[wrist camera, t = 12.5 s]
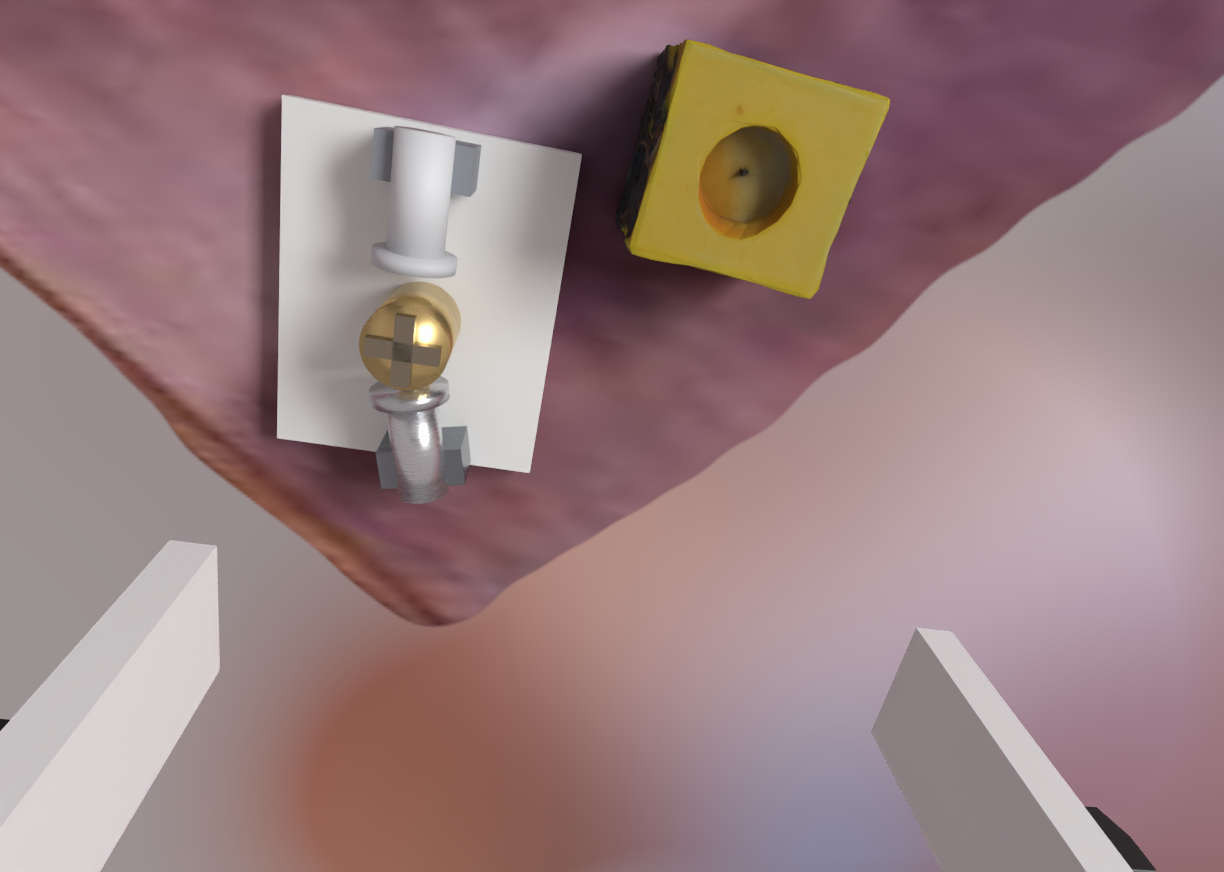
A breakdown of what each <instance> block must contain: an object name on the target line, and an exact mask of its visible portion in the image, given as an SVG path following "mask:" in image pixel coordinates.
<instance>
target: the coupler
mask: <svg viewBox="0 0 1224 872" xmlns="http://www.w3.org/2000/svg"><path fill="white" fill-rule="evenodd" d="M460 328H461V316H460V312H459V309H458V306H457V304H456V302H455V301H454V300H453V298H452V297H451V296H450V295H449V294H448V293H447V292H446V291H445V290H443V289H442V288H441V287H439V286H437V285H434V284H432V283H428V282H421V281H416V282H409V283H406V284H403V285H401V286H399V287H398V288H396V289H395V290H394V291H393V292H392V293H391V294H390V295H389V296H388V297H387V299H386V300H385V301H384V302H383V303H382V304H381V306H380V307H379V308H378V309H377V310H376V311H375V312H374V314H373V315H372V316H371V317H370V318H369V319H368V320H367V322H366V323H365V325H364V326H363V328H362V331H361V334H360V338H359V351H360V355H361V359H362V361H363V363H364V365H365V367H366V369H367V370H368V371H369V372H370V374H371V375H372V376H373V377H374V378H376V379H377V380H378V381H379V382H381V383H383V384H384V385H386V386H389V387H391V388H394V389H399V390H417V389H421V388H424V387H426V386H428V385H430V384H432V383H433V382H434V381H436V380H437V379H438V378H439V377H440V376H441V374H442V373H443V371H444V369H445V367H446V365H447V363H448V360H449V358H450V355H451V353H452V350H453V348H454V345H455V343H456V340H457V338H458V335H459V332H460Z"/></svg>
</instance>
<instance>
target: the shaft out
mask: <svg viewBox="0 0 1224 872" xmlns="http://www.w3.org/2000/svg"><path fill="white" fill-rule="evenodd" d="M369 394H370V400H371V405H372V407H373V408H374V409H376V410H378V411H380V412H384V413H386V418H387V425H388V430H387V432H386V434H385V436H384V438H383V440H382V442H381V443H380V445H379V447H378V449H377V451H376V459H377V465H378V471H379V477H380V483H381V489H393V488H397V489H398V495H399V498H400V499H401V500H403V501H405V502H408V503H427V502H432V501H435V500H438V499H440V498H442V497H443V496H445V495H446V494H447V493H448V491H449V486H453V485H465V482H466V478H467V474H468V470H469V465H470V461H471V457H470V448H469V439H468V429H467V426H457V427H441V419H440V411H439V406H441V405H442V404H444V403H446V402H447V401H448V400H449V398H450V391H449V383H448V380H447V379H446V378H444V377H442V376H440V377H439V378H438V379H437V380H436V381H434V382H433V383H432V384H430V385H428V386H426V387H424V388H421V389H417V390H399V389H394V388H391V387H389V386H386V385H384V384H383V383H381V382H377V383H375V384H373V385H372V386H371V387H370V389H369Z"/></svg>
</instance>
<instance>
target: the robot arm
mask: <svg viewBox="0 0 1224 872" xmlns="http://www.w3.org/2000/svg"><path fill="white" fill-rule="evenodd" d="M218 625H219V622H218V576H217V546H215V545H206V544H196V543H189V542H180V541H171V540H170V541H169V542H168V543H167V544H166V545H165V546H164V547H163V548H162V550H161V551H160V552H159V553H158V554H157V555H156V556H155V557H154V559H153V560H152V561H151V562H150V563H149V564H148V565H147V566H146V568H145V569H144V570H143V571H142V572H141V573H140V574H139V575H138V577H137V578H136V579H135V580H134V581H133V582H132V583H131V585H130V586H129V587H128V588H127V589H126V590H125V591H124V592H123V594H122V595H121V596H120V597H119V598H118V599H117V600H116V601H115V603H114V604H113V605H112V606H111V607H110V608H109V609H108V610H107V612H106V613H105V614H104V615H103V616H102V617H101V619H99V621H98V622H97V623H96V624H95V625H94V626H93V627H92V629H91V630H90V631H89V632H88V633H87V634H86V635H85V637H84V638H83V639H82V640H81V641H80V642H79V643H78V644H77V645H76V647H75V648H74V649H73V650H72V651H71V652H70V653H69V654H68V656H67V657H66V658H65V659H64V660H63V661H62V662H61V663H60V665H59V666H58V667H57V668H56V669H55V670H54V671H53V673H52V674H51V675H50V676H49V677H48V678H47V679H46V680H45V682H44V683H43V684H42V685H41V686H40V687H39V688H38V690H37V691H36V692H35V693H34V694H33V695H32V696H31V697H30V698H29V700H28V701H27V702H26V703H25V704H24V705H23V706H22V707H21V709H20V710H19V711H18V712H17V713H16V714H15V715H14V716H13V718H12V719H11V720H6V719H0V872H100V871H101V869H102V867H103V866H104V864H105V862H106V861H107V859H108V857H109V855H110V854H111V852H112V850H113V849H114V847H115V845H116V843H117V842H118V840H119V838H120V837H121V835H122V834H123V832H124V830H125V828H126V827H127V825H128V823H129V822H130V820H131V818H132V817H133V815H134V813H135V812H136V810H137V808H138V807H139V805H140V803H141V801H142V800H143V798H144V797H145V795H146V793H147V791H148V790H149V788H150V786H151V785H152V783H153V781H154V780H155V778H156V776H157V775H158V773H159V771H160V770H161V768H162V766H163V764H164V763H165V761H166V759H167V758H168V756H169V754H170V753H171V751H172V749H173V747H174V746H175V744H176V743H177V741H178V739H179V738H180V736H181V734H182V733H183V731H184V729H185V727H186V726H187V724H188V722H189V721H190V719H191V717H192V716H193V714H194V712H195V711H196V709H197V707H198V706H199V704H200V702H201V700H202V699H203V697H204V696H205V694H206V692H207V690H208V689H209V687H210V685H211V684H212V682H213V680H214V679H215V677H216V675H217V674H218V672H219V669H220V668H219V626H218ZM871 732H872V734H873V736H874V738H875V740H876V742H877V744H878V746H879V748H880V750H881V752H882V754H883V756H884V758H885V760H886V761H887V764H888V766H889V768H890V770H891V772H892V774H893V776H894V778H895V779H896V781H897V784H898V786H899V787H900V790H901V791H902V793H903V795H904V797H905V799H906V801H907V803H908V805H909V807H910V809H911V811H912V813H913V815H914V817H915V819H916V821H917V823H918V825H919V826H920V829H921V831H922V833H923V835H924V837H925V839H926V840H927V843H928V845H929V846H930V849H931V851H932V853H933V855H934V856H935V858H936V860H937V862H938V864H939V866H940V868H941V870H942V872H1155V871H1156V869H1155V868H1154V866H1153V865H1152V864H1151V863H1150V861H1149V860H1148V859H1147V858H1146V856H1145V855H1144V854H1143V853H1142V851H1141V850H1140V849H1139V847H1138V846H1137V845H1136V844H1135V842H1134V841H1133V840H1132V839H1131V837H1130V836H1129V835H1128V834H1126V833H1125V832H1124V831H1123V830H1122V829H1121V828H1119V827H1118V826H1117V825H1116V824H1115V823H1114V822H1113V821H1112V820H1110V819H1109V818H1108V817H1107V816H1106V815H1104V814H1103V813H1102V812H1101V811H1100V810H1099V809H1098V808H1097V807H1085V806H1083V804H1082V803H1081V802H1080V800H1079V799H1078V798H1077V796H1076V795H1075V794H1074V793H1073V791H1072V790H1071V788H1070V787H1069V786H1068V784H1067V783H1066V782H1065V781H1064V779H1063V778H1062V776H1061V775H1060V774H1059V773H1058V771H1057V770H1056V769H1055V767H1054V766H1053V765H1052V763H1051V762H1050V761H1049V759H1048V758H1047V757H1046V755H1045V754H1044V753H1043V752H1042V750H1041V749H1040V748H1039V746H1038V745H1037V744H1036V742H1035V741H1034V740H1033V738H1032V737H1031V736H1030V734H1029V733H1028V732H1027V730H1026V729H1025V728H1024V727H1023V725H1022V724H1021V722H1020V721H1019V720H1018V718H1017V717H1016V716H1015V714H1014V713H1013V712H1012V711H1011V709H1010V708H1009V707H1008V705H1007V704H1006V703H1005V701H1004V700H1003V699H1002V697H1001V696H1000V695H999V693H998V692H997V691H996V689H995V688H994V687H993V685H992V684H991V683H990V682H989V680H988V679H987V678H986V676H985V675H984V674H983V672H982V671H981V670H980V668H979V667H978V666H977V664H976V663H975V662H974V660H973V659H972V658H971V656H970V655H969V654H968V653H967V651H966V650H965V649H964V648H963V646H962V645H961V643H960V642H959V641H958V639H957V638H956V637H955V635H954V634H953V633H952V632H950V631H941V630H932V629H924V628H916V630H915V632H914V634H913V637H912V639H911V641H910V643H909V646H908V648H907V650H906V653H905V655H904V657H903V660H902V662H901V664H900V666H899V669H898V671H897V674H896V676H895V678H894V680H893V683H892V685H891V687H890V690H889V692H888V694H887V697H886V699H885V701H884V703H883V706H882V708H881V710H880V713H879V715H878V717H877V719H876V722H875V724H874V726H873V729H872V731H871Z"/></svg>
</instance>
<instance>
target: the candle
mask: <svg viewBox="0 0 1224 872" xmlns="http://www.w3.org/2000/svg"><path fill="white" fill-rule="evenodd" d="M657 63H658V68H657V70H656V72H655V80H654V82H653V84H652V86H651V92H650V98H649V100H648V102H647V108H646V111H645V116H644V117H643V118H642V119H641V125H640V131H639V134H638V141H637V146H636V149H635V152H634V154H633V157H632V159H631V162H630V166H629V170H628V173H627V181H626V187H625V191H624V193H623V196H622V201H621V205H620V207H619V208H618V210H617V212H616V224H617V225H618V228H619V229H620V230H621V231H622V232H624V233H625V237H624V241H625V243H626V246H627V248H628V250H629V251H630V252H631V253H632V254H633V255H637V256H640V257H644V258H647V259H650V260H655V261H661V262H666V263H672V264H680V265H689V266H692V267H694V268H697V269H700V270H703V271H709V272H713V273H717V274H721V275H724V276H729V277H733V278H737V279H741V280H745V281H749V282H753V283H757V284H760V285H763V286H766V287H769V288H772V289H774V290H778V291H781V292H784V293H788V294H791V295H795V296H798V297H803V298H809V299H810V298H812V297H813V295H814V294H815V293H816V292H817V290H818V289H819V285H820V282H821V279H822V275H823V272H824V268H825V264H826V260H827V256H828V252H829V249H830V246H831V244H832V242H833V240H834V238H835V236H836V234H837V232H838V229H839V226H840V224H841V221H842V218H843V215H844V213H845V210H846V208H847V205H848V204H849V203H850V199H851V195H852V193H853V190H854V188H855V185H856V183H857V181H858V178H859V176H860V174H861V171H862V169H863V167H864V165H865V162H866V160H867V158H868V156H869V153H870V151H871V149H872V147H873V144H874V142H875V139H876V137H877V135H878V132H879V130H880V128H881V125H882V123H883V121H884V118H885V116H886V114H887V112H888V109H889V104H890V100H889V99H888V98H887V97H885V96H882V95H879V94H876V93H873V92H869V91H865V90H860V89H856V88H852V87H849V86H845V85H843V84H840V83H838V82H831V81H827V80H823V79H818V78H814V77H811V76H807V75H804V74H801V73H797V72H794V71H790V70H787V69H784V68H780V67H777V66H774V65H770V64H767V63H764V62H761V61H757V60H754V59H751V58H747V57H744V56H740V55H736V54H733V53H729V52H727V51H724V50H722V49H719V48H717V47H714V46H712V45H709V44H705V43H701V42H696V41H692V40H688V39H687V40H685V41H684V42H683V43H680V45H676V46H671V45H667V46H666V48H665V50H664V51H663V52H662V53H661V54H660V56H659V58H658V60H657Z"/></svg>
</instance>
